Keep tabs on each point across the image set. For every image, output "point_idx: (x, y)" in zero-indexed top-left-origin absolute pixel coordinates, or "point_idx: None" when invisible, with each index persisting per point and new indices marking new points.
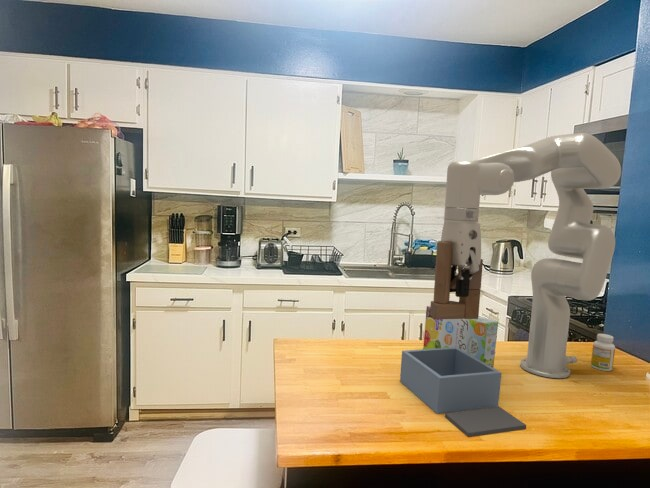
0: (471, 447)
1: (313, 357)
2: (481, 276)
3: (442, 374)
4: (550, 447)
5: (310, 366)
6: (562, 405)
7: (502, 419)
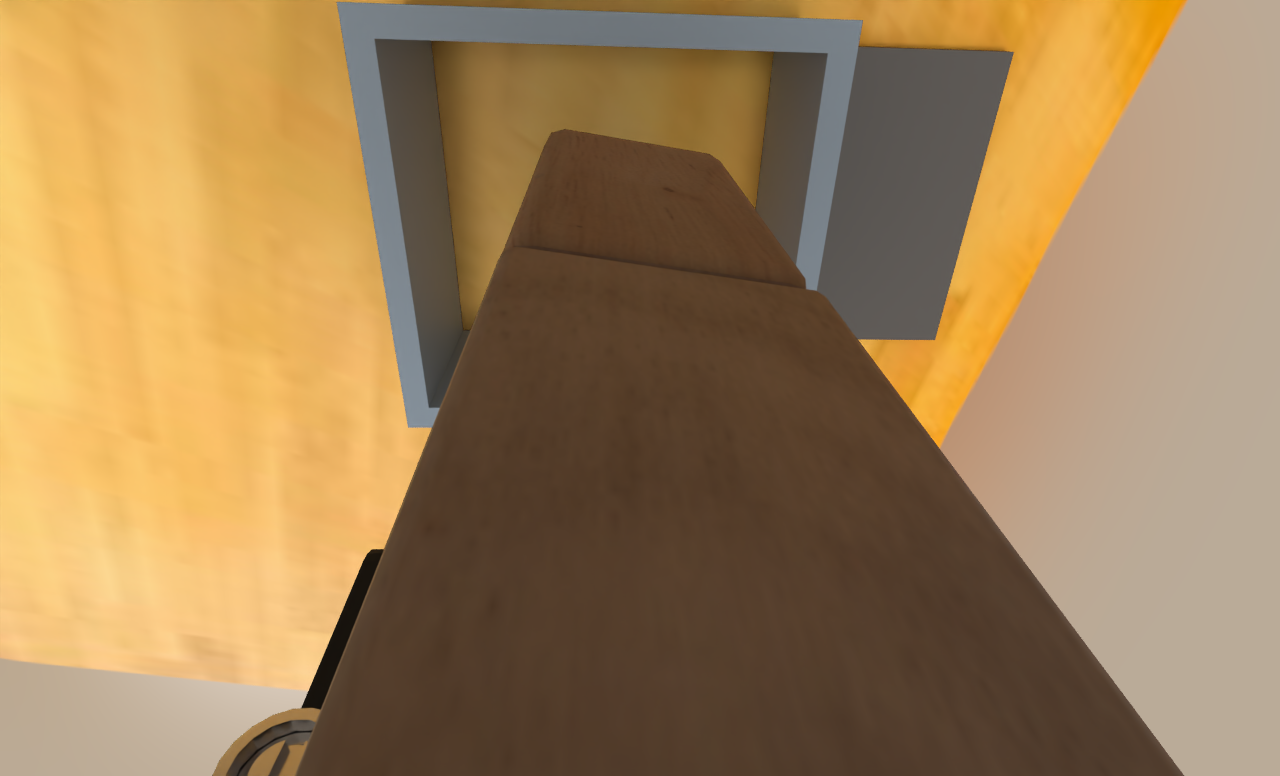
0: (976, 359)
1: (164, 580)
2: (934, 451)
3: (432, 120)
4: (1142, 66)
5: (273, 607)
6: None
7: (927, 131)
